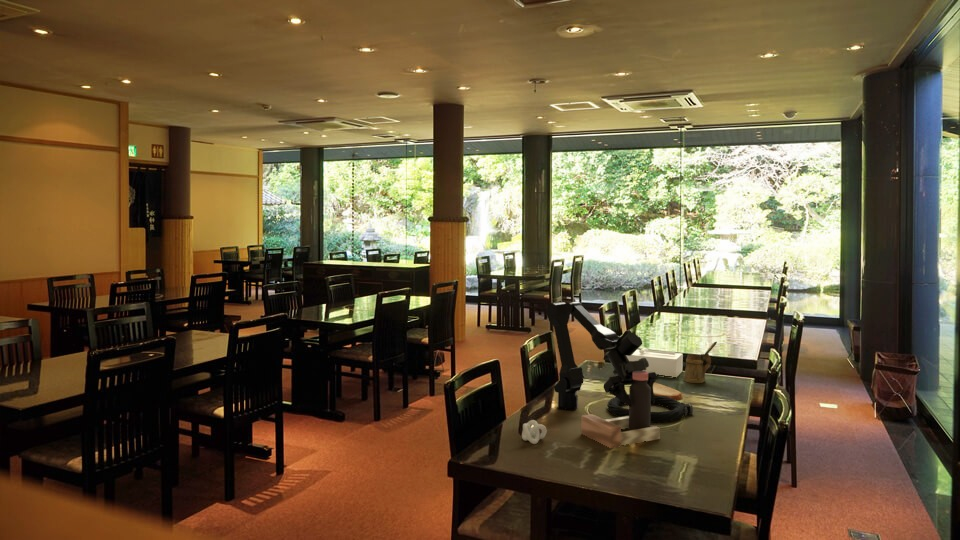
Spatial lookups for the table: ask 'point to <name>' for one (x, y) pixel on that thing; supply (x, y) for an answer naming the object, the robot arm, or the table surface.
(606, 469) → the table surface
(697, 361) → the wooden mug
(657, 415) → the cable lock
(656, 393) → the bread slice
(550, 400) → the table surface
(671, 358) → the tissue box
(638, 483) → the table surface
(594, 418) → the track
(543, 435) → the knot
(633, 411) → the vinegar
